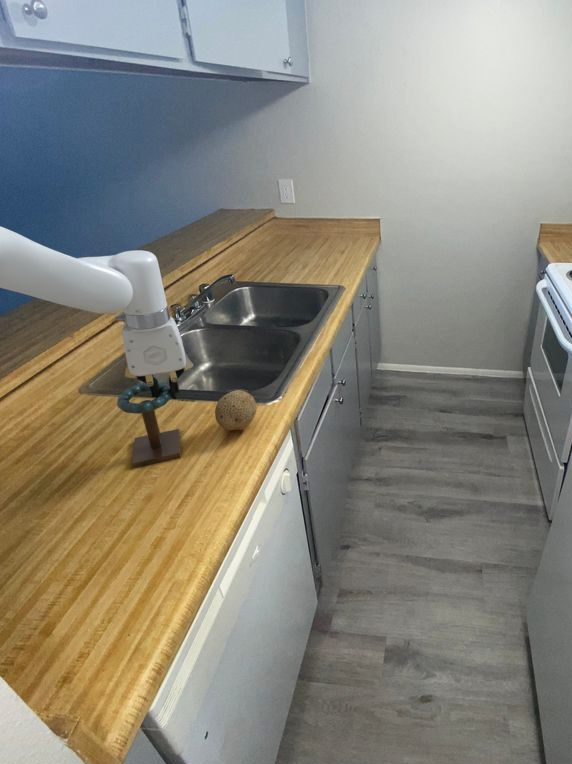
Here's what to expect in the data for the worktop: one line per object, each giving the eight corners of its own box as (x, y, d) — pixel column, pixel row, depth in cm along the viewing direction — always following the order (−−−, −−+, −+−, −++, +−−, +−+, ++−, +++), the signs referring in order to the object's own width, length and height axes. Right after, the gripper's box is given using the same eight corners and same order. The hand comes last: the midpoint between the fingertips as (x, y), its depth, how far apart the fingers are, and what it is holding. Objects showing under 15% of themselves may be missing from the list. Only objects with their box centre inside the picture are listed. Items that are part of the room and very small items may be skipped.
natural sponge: (242, 445, 105) (236, 409, 100) (209, 436, 107) (202, 399, 103) (266, 423, 112) (262, 387, 108) (235, 414, 115) (229, 379, 110)
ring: (116, 420, 91) (114, 411, 90) (120, 393, 99) (118, 385, 98) (173, 408, 95) (171, 400, 94) (172, 384, 103) (170, 376, 102)
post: (133, 467, 97) (119, 419, 92) (135, 441, 105) (122, 396, 99) (180, 457, 101) (169, 410, 95) (179, 432, 108) (169, 387, 102)
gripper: (96, 330, 84) (121, 415, 92) (193, 318, 90) (209, 399, 98) (101, 314, 90) (124, 395, 98) (192, 304, 96) (206, 381, 104)
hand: (166, 396), depth 98 cm, fingers closed on ring, 2 cm apart
